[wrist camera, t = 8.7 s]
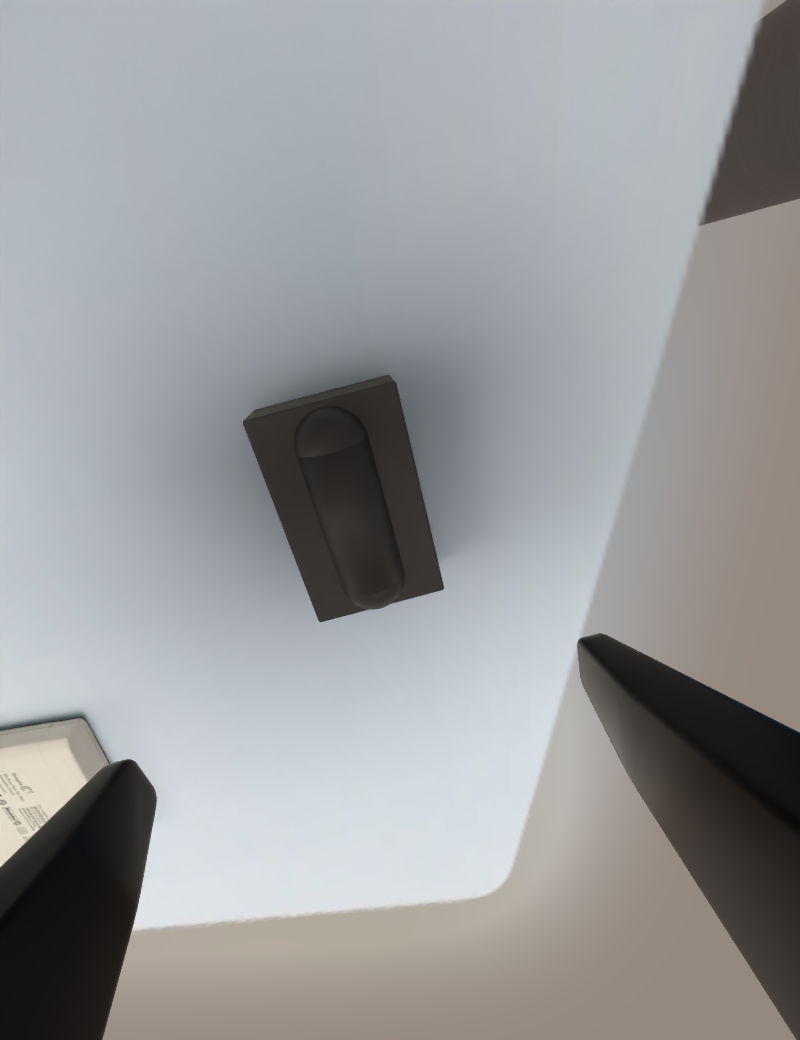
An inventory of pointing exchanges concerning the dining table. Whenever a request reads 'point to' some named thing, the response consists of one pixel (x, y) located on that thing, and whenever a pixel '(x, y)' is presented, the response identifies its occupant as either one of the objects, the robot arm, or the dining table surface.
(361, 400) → the raised capsule plate
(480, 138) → the dining table surface
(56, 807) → the hard drive
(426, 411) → the dining table surface
